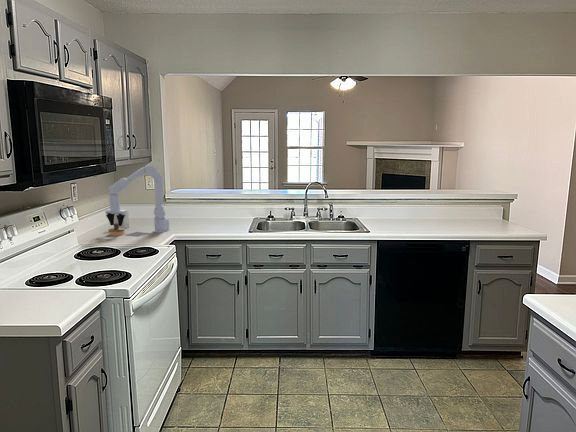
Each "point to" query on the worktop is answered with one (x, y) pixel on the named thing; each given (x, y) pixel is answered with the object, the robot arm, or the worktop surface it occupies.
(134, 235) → the mat
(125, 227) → the supplement box
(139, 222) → the worktop surface
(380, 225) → the worktop surface
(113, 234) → the bowl
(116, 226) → the lid
